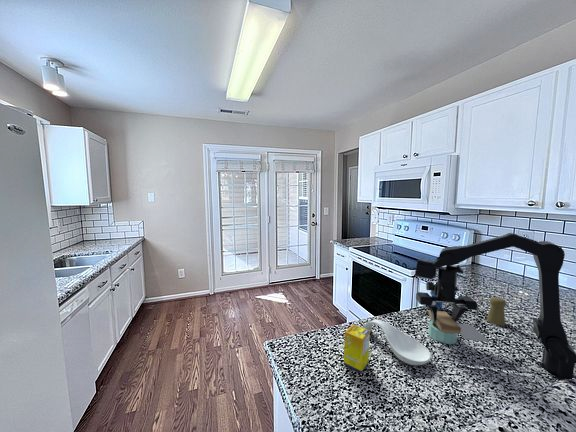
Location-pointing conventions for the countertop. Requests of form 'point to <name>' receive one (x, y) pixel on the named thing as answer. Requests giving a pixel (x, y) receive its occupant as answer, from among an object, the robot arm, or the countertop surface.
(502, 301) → the olive brown pear
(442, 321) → the tan wooden plank
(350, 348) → the supplement box
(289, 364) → the countertop surface
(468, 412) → the countertop surface
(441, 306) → the grapes
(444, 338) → the bowl
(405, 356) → the spoon rest
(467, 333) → the mat
